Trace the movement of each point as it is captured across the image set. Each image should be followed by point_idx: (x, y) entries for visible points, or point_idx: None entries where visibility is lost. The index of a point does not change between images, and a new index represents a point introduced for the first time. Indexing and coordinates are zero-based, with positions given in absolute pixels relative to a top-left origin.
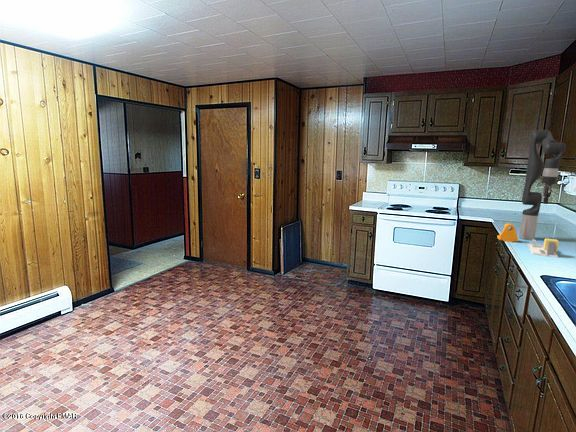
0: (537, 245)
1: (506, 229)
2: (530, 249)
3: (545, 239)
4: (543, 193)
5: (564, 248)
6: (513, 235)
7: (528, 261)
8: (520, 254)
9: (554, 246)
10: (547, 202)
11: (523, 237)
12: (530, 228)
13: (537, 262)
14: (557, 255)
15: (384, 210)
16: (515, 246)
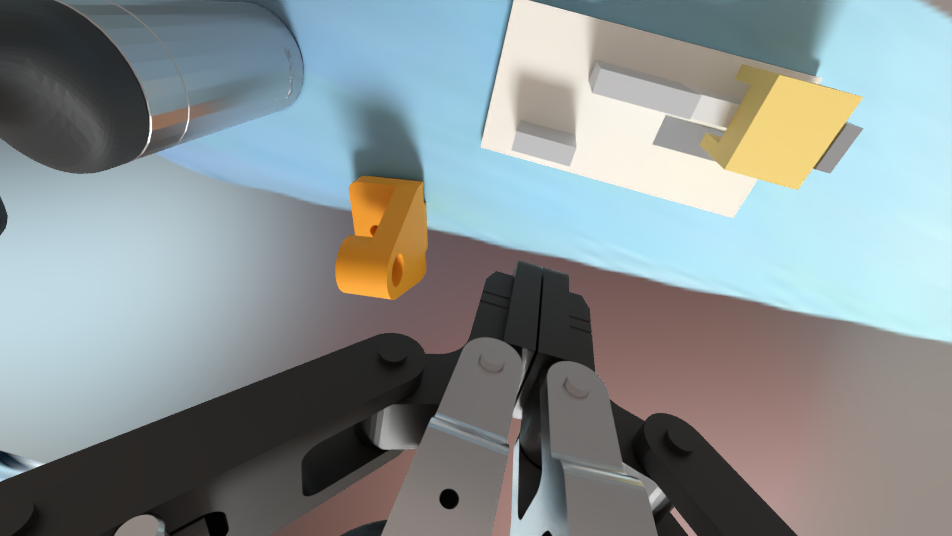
0: (513, 95)
1: (402, 284)
2: (626, 186)
3: (764, 180)
4: (319, 463)
5: None
6: (412, 224)
7: (896, 305)
8: (739, 283)
9: None
10: (566, 292)
11: (291, 98)
12: (245, 74)
13: (925, 269)
14: (812, 77)
15: None
16: (542, 233)
